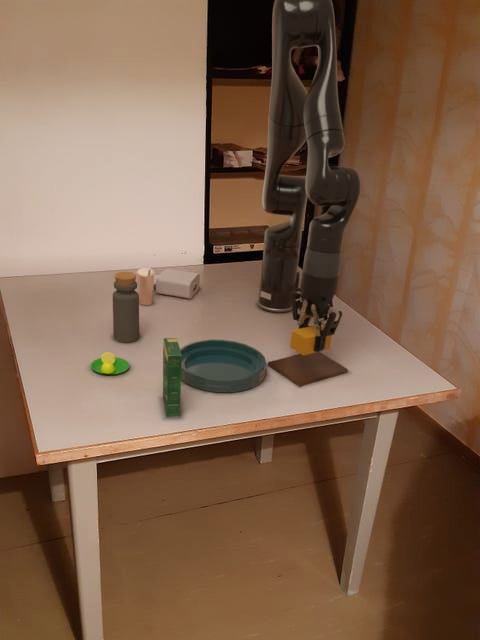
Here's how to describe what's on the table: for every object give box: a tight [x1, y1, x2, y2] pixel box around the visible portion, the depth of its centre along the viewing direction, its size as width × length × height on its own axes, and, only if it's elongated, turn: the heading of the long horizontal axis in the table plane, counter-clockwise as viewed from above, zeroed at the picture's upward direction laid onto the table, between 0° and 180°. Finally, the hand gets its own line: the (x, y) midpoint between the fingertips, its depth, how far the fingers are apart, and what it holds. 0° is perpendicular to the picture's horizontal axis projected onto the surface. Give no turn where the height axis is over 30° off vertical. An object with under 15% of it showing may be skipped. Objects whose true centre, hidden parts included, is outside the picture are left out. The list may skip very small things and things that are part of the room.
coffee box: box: [162, 337, 182, 419], centre depth 126 cm, size 8×3×13 cm, turn 10°
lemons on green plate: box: [90, 351, 130, 375], centre depth 141 cm, size 8×8×3 cm
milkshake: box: [136, 267, 156, 306], centre depth 170 cm, size 4×5×10 cm
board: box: [267, 351, 349, 387], centre depth 148 cm, size 14×11×1 cm
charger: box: [154, 268, 201, 300], centre depth 181 cm, size 5×9×15 cm
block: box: [289, 324, 333, 356], centre depth 144 cm, size 8×5×4 cm, turn 125°
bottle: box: [112, 271, 140, 344], centre depth 151 cm, size 6×6×15 cm
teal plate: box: [180, 339, 267, 393], centre depth 143 cm, size 19×19×3 cm
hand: (310, 345), depth 145 cm, fingers closed on block, 4 cm apart
